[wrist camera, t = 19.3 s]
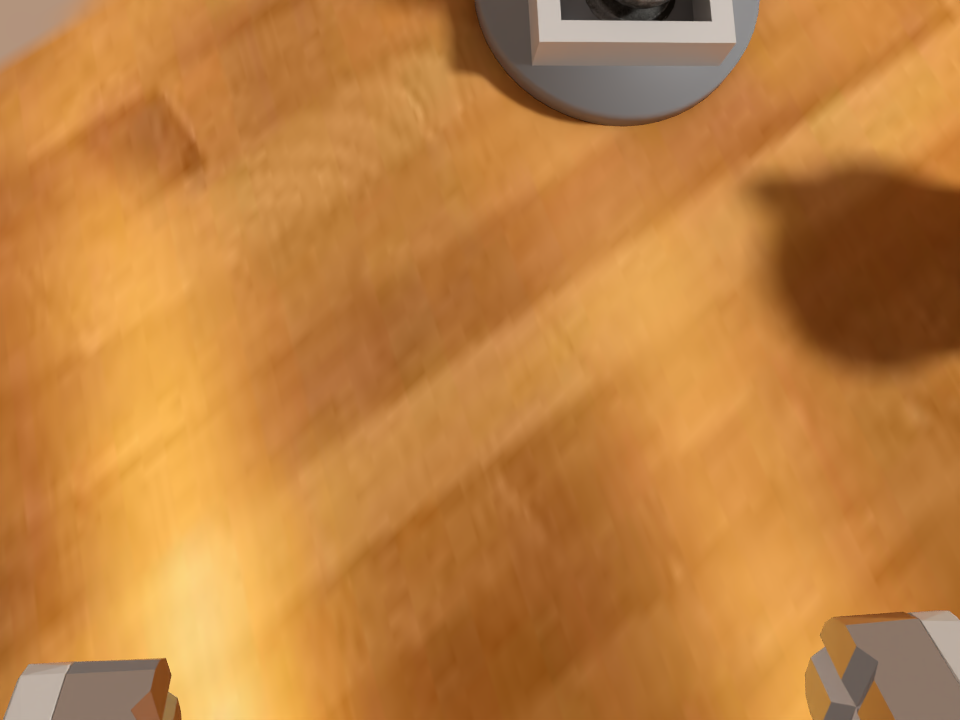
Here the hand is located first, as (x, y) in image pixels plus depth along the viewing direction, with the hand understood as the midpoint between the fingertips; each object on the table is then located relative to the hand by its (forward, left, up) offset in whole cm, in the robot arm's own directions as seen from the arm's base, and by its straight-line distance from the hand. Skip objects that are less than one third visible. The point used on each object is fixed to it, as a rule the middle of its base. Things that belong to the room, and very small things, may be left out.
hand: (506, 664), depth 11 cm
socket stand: (+12, +30, -34) cm, 47 cm away
